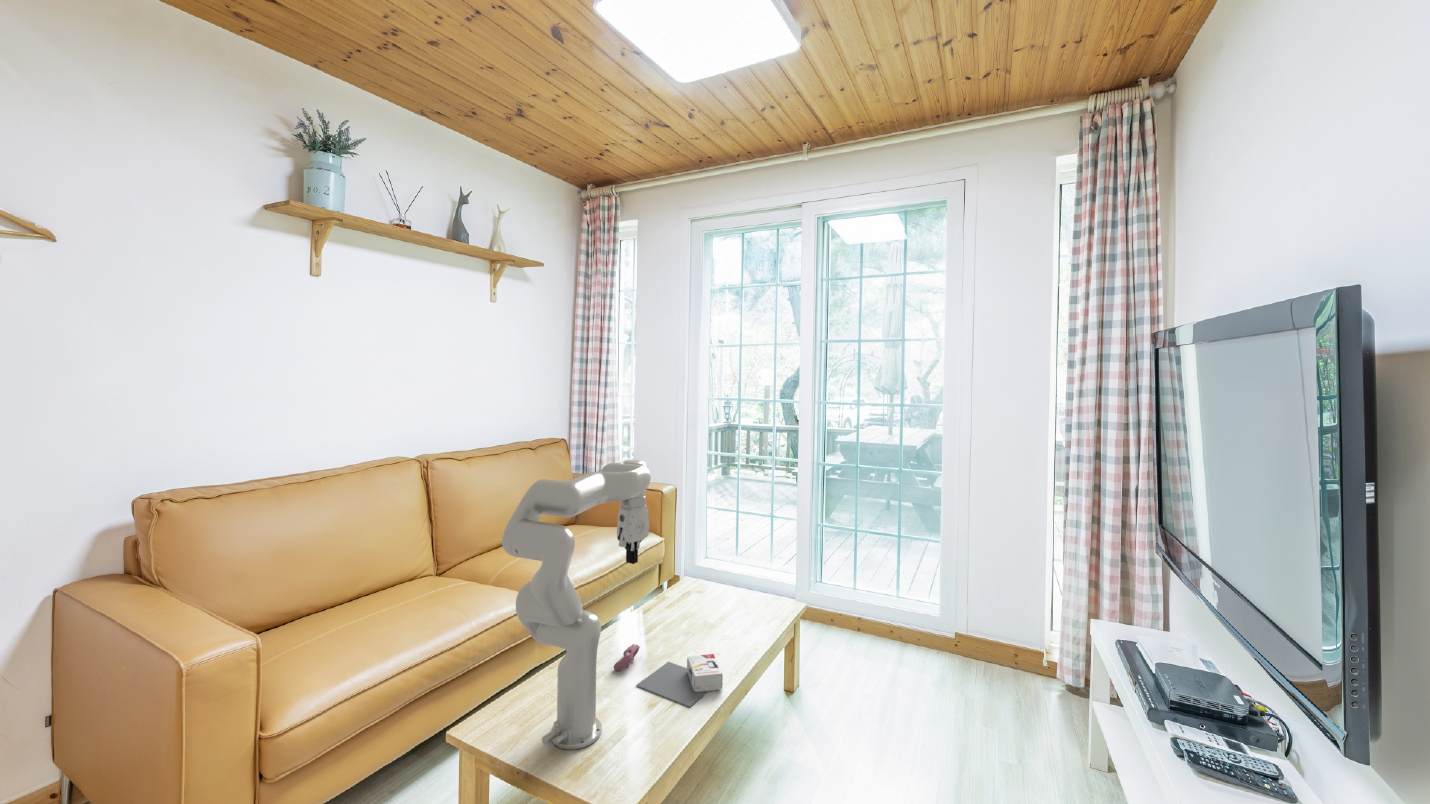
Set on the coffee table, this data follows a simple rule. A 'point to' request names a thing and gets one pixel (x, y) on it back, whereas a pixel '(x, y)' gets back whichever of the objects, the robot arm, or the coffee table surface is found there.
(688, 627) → the coffee table surface
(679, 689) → the mat
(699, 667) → the ink box
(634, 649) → the video game controller
